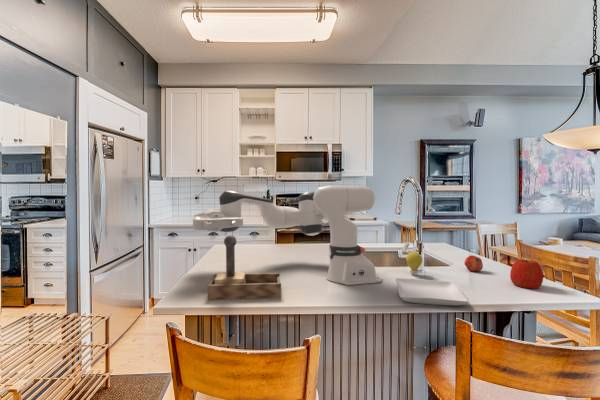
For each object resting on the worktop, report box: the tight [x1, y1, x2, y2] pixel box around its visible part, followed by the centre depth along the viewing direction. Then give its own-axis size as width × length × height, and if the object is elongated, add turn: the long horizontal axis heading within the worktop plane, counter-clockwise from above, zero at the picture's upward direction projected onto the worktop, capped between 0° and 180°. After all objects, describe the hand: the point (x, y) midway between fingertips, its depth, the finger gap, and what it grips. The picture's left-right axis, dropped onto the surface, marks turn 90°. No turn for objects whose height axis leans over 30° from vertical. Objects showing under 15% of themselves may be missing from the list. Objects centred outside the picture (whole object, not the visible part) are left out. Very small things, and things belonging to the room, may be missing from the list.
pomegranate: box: [463, 254, 484, 272], centre depth 152 cm, size 7×7×10 cm
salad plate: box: [395, 277, 469, 307], centre depth 118 cm, size 21×21×3 cm
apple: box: [509, 258, 544, 290], centre depth 130 cm, size 11×11×11 cm
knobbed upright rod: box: [215, 235, 246, 284], centre depth 121 cm, size 10×9×20 cm
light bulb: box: [405, 251, 423, 276], centre depth 145 cm, size 7×7×10 cm
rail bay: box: [206, 272, 282, 301], centre depth 122 cm, size 25×14×5 cm, turn 96°
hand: (221, 224), depth 131 cm, fingers open, 8 cm apart
